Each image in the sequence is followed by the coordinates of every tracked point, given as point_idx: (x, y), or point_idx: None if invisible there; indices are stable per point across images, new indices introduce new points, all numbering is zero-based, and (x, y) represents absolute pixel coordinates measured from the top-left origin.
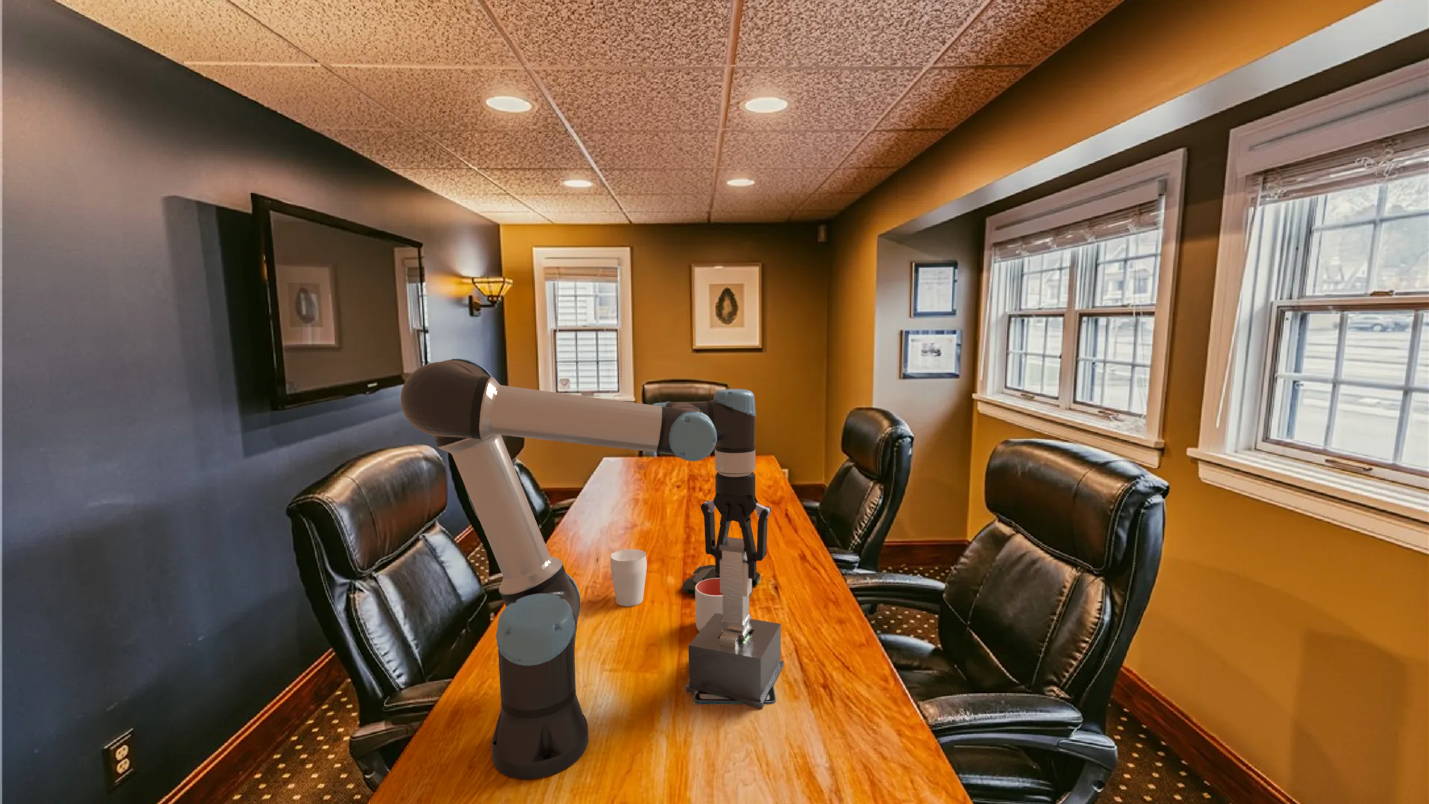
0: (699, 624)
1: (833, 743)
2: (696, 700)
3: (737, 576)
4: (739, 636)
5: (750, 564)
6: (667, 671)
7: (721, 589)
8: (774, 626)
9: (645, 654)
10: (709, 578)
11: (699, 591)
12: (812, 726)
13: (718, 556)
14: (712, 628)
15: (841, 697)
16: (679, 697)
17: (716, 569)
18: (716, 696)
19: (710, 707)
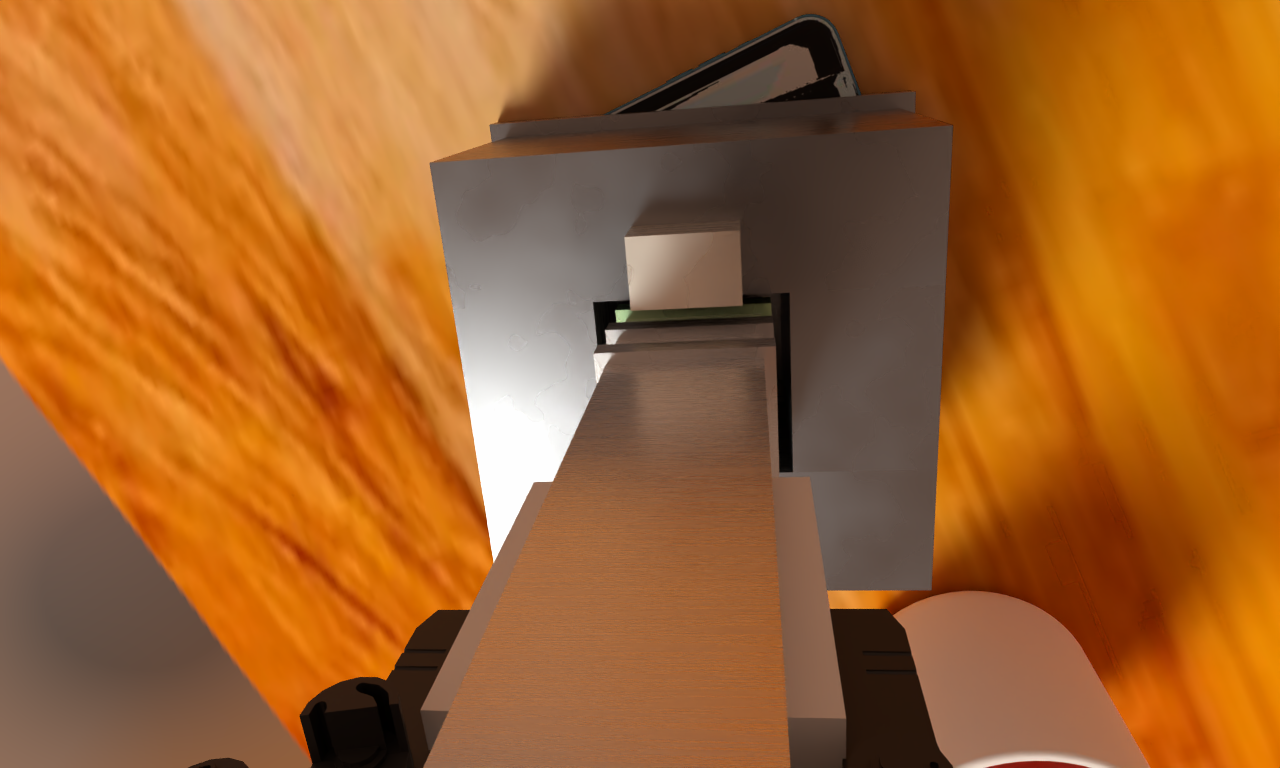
0: (1053, 629)
1: (134, 15)
2: (814, 15)
3: (579, 564)
4: (637, 325)
5: (410, 729)
6: (1082, 226)
7: (796, 495)
8: None
9: (1275, 330)
10: None
11: None
12: (255, 92)
13: (875, 760)
14: (873, 401)
15: (239, 344)
16: (923, 29)
17: (893, 644)
18: (731, 100)
19: (732, 19)
